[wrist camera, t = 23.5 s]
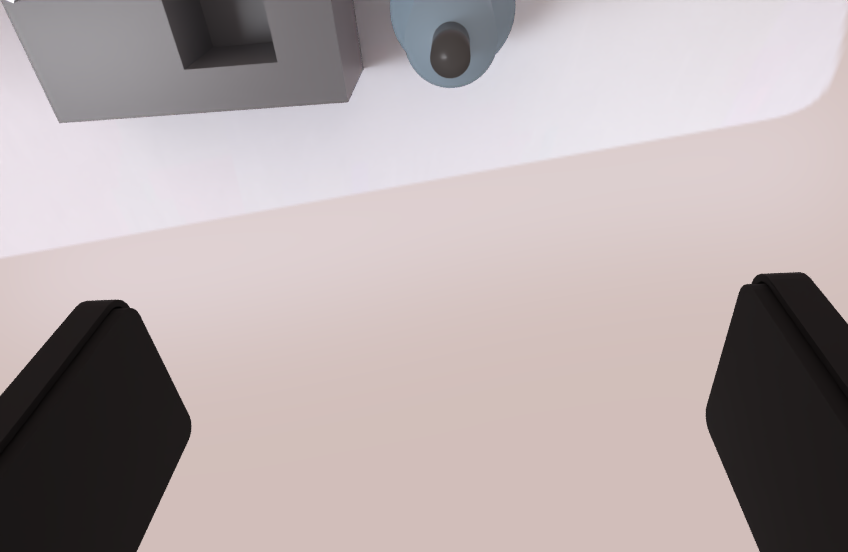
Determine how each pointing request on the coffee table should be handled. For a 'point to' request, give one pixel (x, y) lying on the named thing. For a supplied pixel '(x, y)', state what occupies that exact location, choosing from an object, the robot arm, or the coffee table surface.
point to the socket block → (187, 54)
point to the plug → (451, 36)
